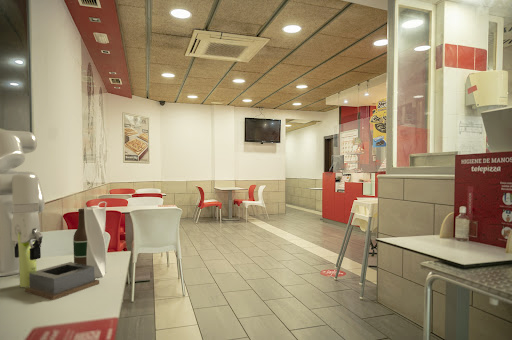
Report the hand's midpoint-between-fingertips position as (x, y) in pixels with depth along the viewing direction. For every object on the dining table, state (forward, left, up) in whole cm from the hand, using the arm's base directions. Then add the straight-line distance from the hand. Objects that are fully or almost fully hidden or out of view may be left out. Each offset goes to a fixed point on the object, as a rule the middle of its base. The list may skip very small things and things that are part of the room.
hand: (27, 257), depth 116 cm
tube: (0, 0, -10) cm, 10 cm away
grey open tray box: (+14, +4, -10) cm, 17 cm away
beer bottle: (-4, +24, -10) cm, 27 cm away
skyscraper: (+12, +18, -10) cm, 24 cm away
